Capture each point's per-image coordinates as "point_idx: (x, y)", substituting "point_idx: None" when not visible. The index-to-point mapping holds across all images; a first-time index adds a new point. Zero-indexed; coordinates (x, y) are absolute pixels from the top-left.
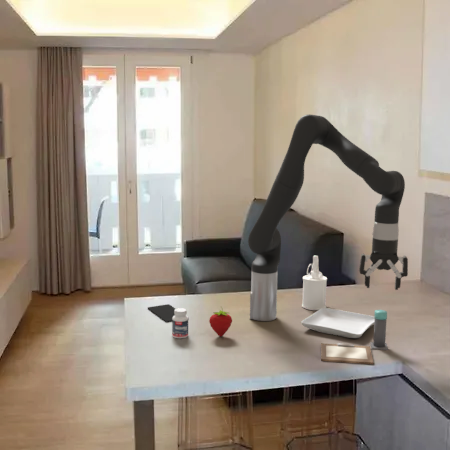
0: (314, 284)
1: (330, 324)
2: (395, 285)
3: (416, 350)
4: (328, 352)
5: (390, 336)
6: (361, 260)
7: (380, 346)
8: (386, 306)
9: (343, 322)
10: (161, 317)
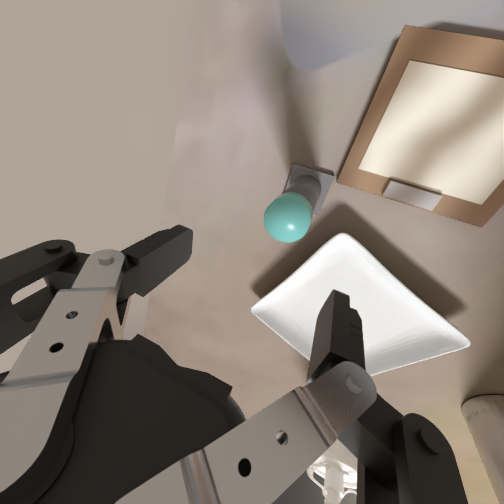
0: (347, 453)
1: None
2: (178, 249)
3: (229, 154)
4: None
5: (255, 243)
6: None
7: (309, 175)
8: (217, 353)
9: None
10: None
